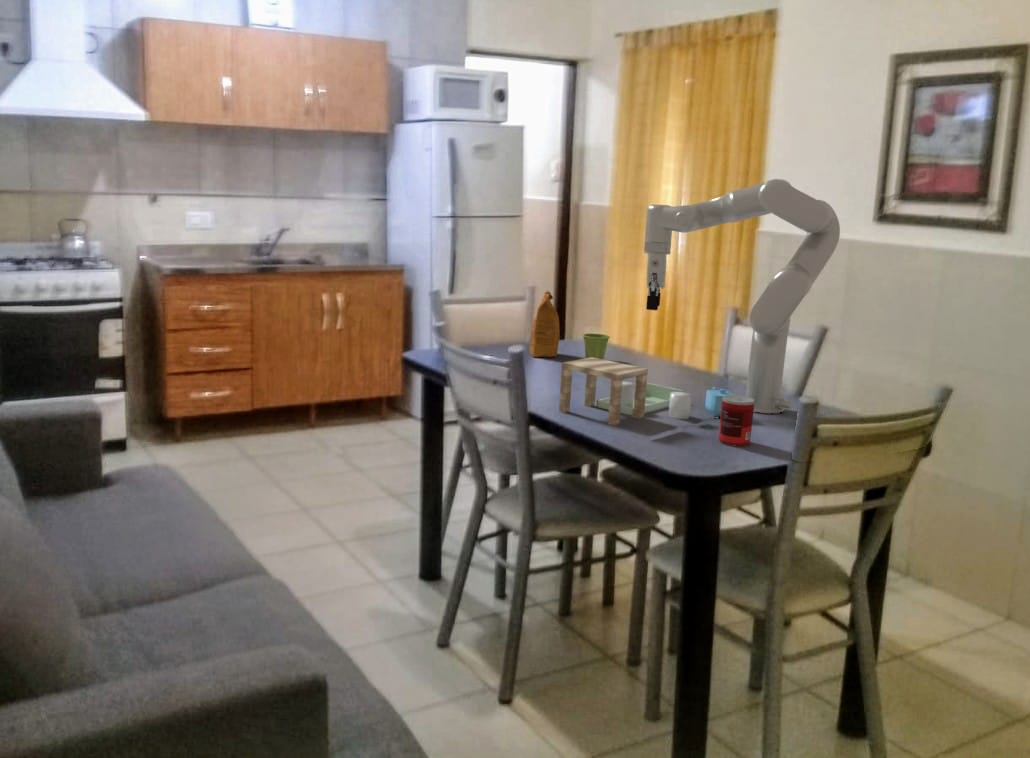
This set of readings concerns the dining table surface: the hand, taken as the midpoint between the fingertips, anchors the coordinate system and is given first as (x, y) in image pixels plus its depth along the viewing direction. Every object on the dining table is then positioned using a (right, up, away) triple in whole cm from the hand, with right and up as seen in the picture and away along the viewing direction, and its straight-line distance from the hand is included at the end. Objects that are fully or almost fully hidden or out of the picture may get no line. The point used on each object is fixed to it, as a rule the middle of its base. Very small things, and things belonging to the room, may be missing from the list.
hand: (653, 307), depth 284 cm
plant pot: (-13, -14, +52) cm, 55 cm away
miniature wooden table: (-18, -31, -27) cm, 45 cm away
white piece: (+3, -32, -25) cm, 40 cm away
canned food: (+14, -36, -44) cm, 59 cm away
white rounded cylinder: (-11, -29, -20) cm, 37 cm away
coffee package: (-30, -13, +56) cm, 65 cm away
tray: (-6, -29, -14) cm, 32 cm away
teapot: (+15, -31, -17) cm, 38 cm away
